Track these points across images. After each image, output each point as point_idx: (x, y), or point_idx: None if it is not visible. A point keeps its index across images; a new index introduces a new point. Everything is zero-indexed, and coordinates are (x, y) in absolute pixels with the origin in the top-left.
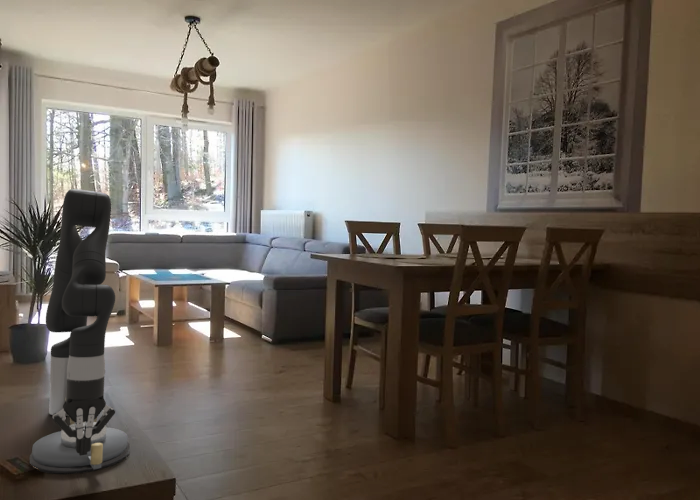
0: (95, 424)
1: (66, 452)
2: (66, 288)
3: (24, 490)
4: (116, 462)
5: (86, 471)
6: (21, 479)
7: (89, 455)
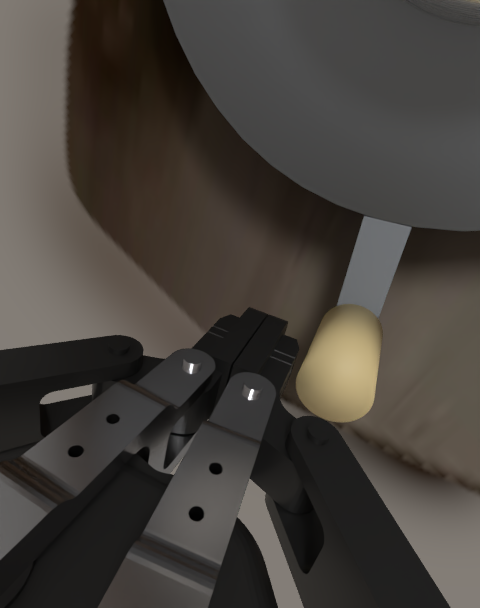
0: (302, 469)
1: (295, 36)
2: None
3: (114, 205)
4: None
5: None
6: (117, 77)
7: (379, 207)
